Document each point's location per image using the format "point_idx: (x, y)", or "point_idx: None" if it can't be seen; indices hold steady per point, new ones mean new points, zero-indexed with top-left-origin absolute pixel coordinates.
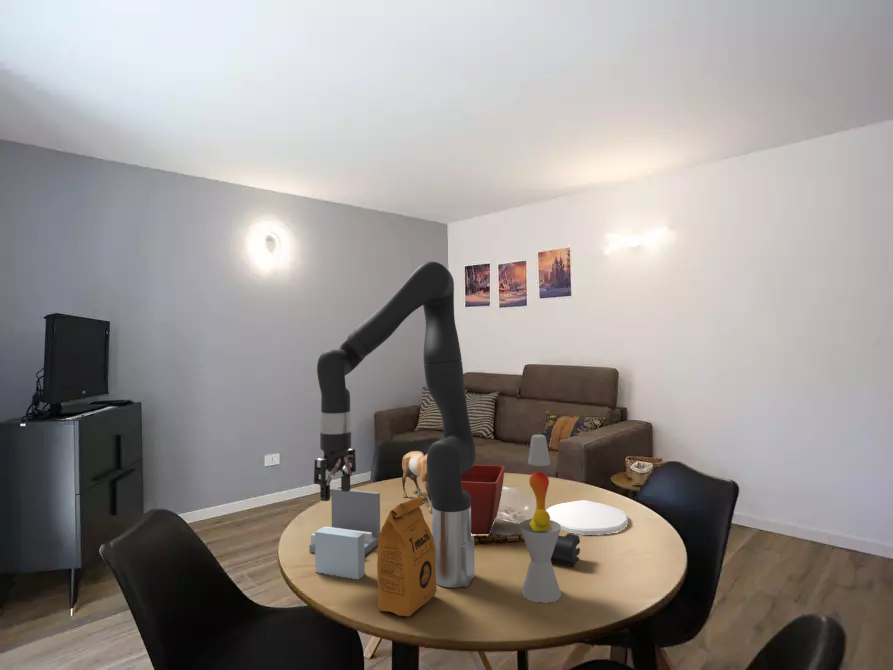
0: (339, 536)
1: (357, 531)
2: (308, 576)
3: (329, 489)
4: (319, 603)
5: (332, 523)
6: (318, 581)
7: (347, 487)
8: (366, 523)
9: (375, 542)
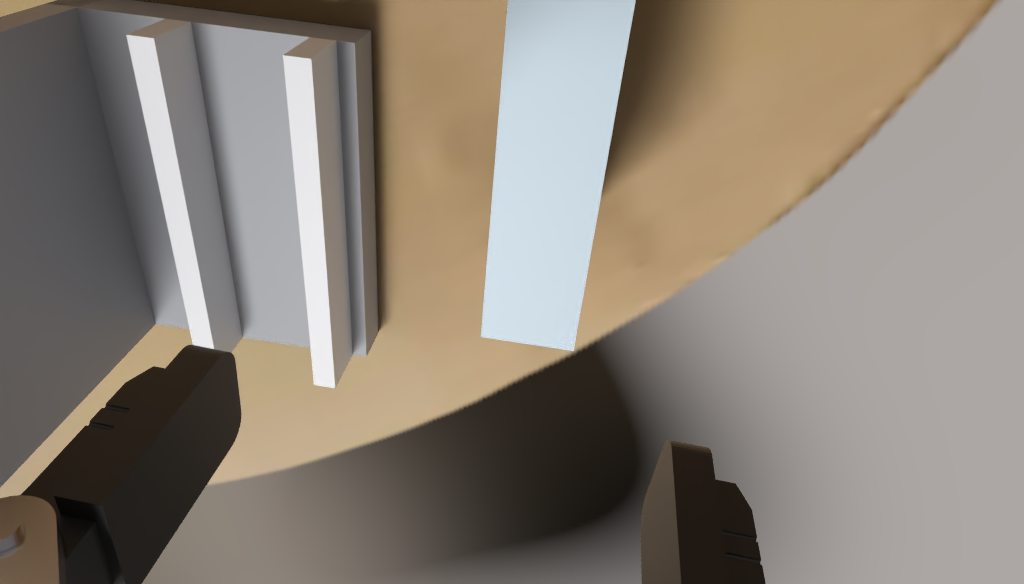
0: (608, 142)
1: (164, 150)
2: (638, 225)
3: (698, 568)
4: (978, 16)
5: (129, 346)
6: (691, 148)
7: (202, 395)
8: (43, 131)
9: (132, 7)
